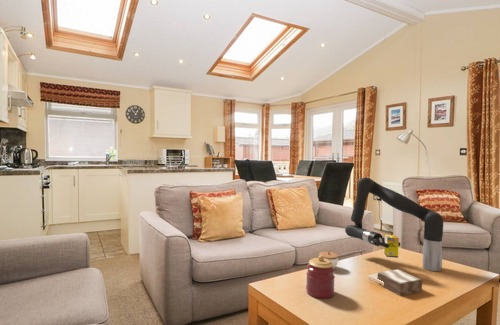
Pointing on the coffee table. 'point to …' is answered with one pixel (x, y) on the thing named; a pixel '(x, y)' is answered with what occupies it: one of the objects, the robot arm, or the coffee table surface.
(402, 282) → the silver-topped wooden block
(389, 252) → the supplement box
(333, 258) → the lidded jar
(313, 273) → the canister
